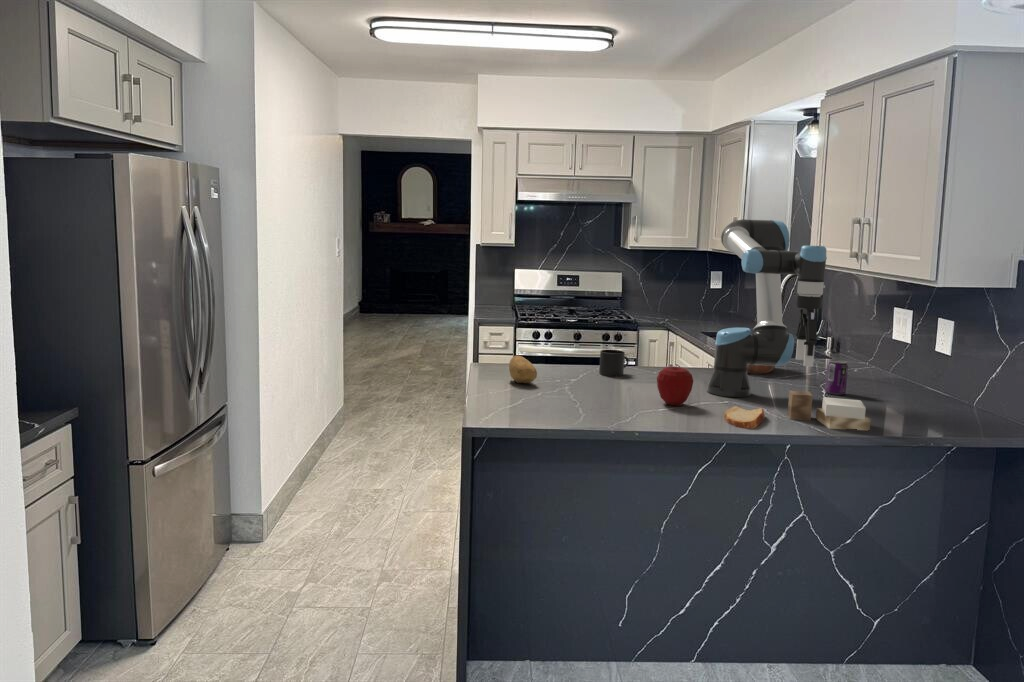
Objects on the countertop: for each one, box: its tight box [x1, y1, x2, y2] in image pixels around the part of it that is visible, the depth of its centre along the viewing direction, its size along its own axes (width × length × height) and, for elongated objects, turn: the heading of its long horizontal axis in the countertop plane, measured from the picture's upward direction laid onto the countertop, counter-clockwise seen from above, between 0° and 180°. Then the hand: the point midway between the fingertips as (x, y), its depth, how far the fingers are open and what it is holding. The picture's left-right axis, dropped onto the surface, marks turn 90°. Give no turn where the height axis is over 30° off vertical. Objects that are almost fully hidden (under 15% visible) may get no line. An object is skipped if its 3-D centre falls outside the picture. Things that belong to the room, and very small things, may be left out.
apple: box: [656, 365, 694, 407], centre depth 264 cm, size 12×12×13 cm
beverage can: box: [824, 359, 849, 396], centre depth 292 cm, size 7×7×12 cm
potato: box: [508, 355, 538, 384], centre depth 290 cm, size 9×16×9 cm, turn 17°
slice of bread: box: [723, 405, 766, 430], centre depth 248 cm, size 18×18×4 cm
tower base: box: [815, 407, 872, 431], centre depth 247 cm, size 12×12×4 cm
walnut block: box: [786, 390, 813, 421], centre depth 253 cm, size 6×6×8 cm
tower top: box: [821, 396, 867, 419], centre depth 246 cm, size 11×11×4 cm
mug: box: [598, 349, 629, 377], centre depth 314 cm, size 9×12×9 cm
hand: (804, 363), depth 251 cm, fingers open, 13 cm apart
